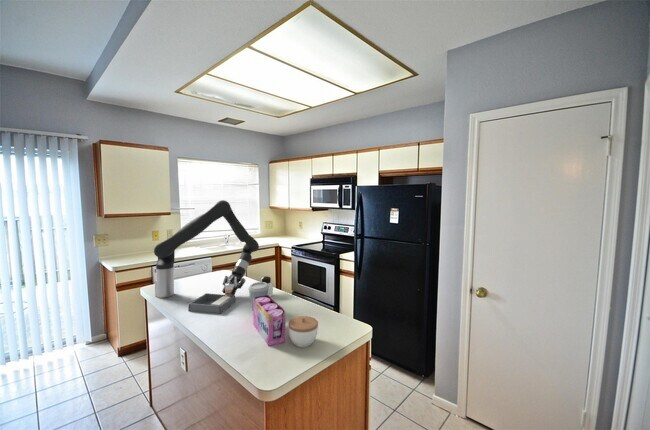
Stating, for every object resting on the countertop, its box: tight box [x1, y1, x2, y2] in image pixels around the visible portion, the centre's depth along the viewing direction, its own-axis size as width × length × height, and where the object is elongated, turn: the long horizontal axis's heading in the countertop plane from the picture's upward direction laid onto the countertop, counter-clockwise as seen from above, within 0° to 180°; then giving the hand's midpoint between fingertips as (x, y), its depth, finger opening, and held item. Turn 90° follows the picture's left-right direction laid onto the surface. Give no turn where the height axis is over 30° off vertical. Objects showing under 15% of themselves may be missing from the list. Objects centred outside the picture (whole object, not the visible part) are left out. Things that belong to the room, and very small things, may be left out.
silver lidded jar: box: [224, 282, 236, 297], centre depth 163 cm, size 6×6×10 cm
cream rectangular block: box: [211, 296, 231, 306], centre depth 150 cm, size 5×12×4 cm, turn 171°
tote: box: [188, 292, 236, 315], centre depth 151 cm, size 18×16×5 cm
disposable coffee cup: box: [248, 281, 269, 312], centre depth 147 cm, size 11×11×15 cm
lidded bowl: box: [288, 315, 319, 348], centre depth 117 cm, size 13×13×11 cm
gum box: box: [252, 295, 286, 346], centre depth 125 cm, size 24×8×14 cm, turn 31°
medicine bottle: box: [260, 275, 274, 298], centre depth 171 cm, size 7×7×12 cm
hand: (227, 293), depth 162 cm, fingers closed on silver lidded jar, 5 cm apart
